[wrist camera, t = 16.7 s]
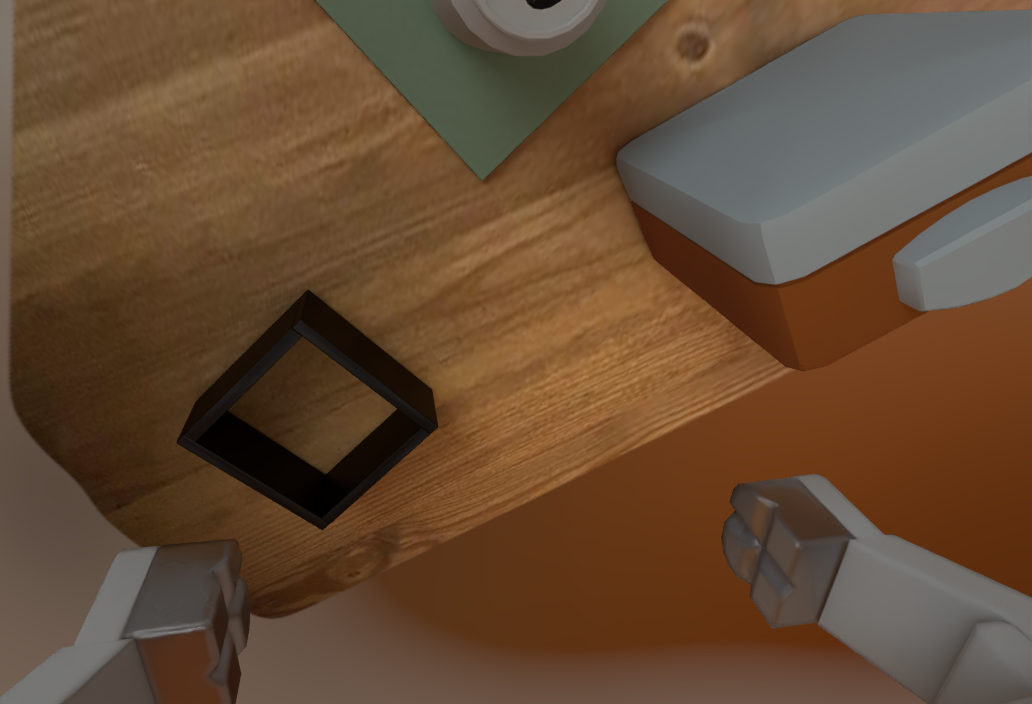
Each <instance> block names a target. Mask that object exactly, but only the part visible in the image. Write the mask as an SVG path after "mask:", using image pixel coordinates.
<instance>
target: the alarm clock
mask: <svg viewBox="0 0 1032 704" xmlns="http://www.w3.org/2000/svg"><path fill="white" fill-rule="evenodd" d="M617 169H618V171H619V174H620V176H621V179H622V181H623V184H624V186H625V189H626V191H627V194H628V196H629V199H630V200H631V204H632V206H633V209H634V211H635V213H636V216H637V218H638V221H639V223H640V226H641V228H642V231H643V233H644V236H645V238H646V241H647V243H648V246H649V248H650V250H651V253H652V255H653V258H654V259H655V260H656V261H657V262H658V263H659V264H661V265H662V266H663V267H664V268H665V269H667V270H668V271H669V272H670V273H671V274H673V275H674V276H675V277H676V278H677V279H679V280H680V281H681V282H682V283H684V284H685V285H686V286H687V287H689V288H690V289H691V290H692V291H694V292H695V293H696V294H697V295H699V296H700V297H701V298H702V299H703V300H705V301H706V302H707V303H708V304H710V305H711V306H712V307H713V308H715V309H716V310H717V311H718V312H719V313H721V314H722V315H723V316H724V317H725V318H727V319H728V320H729V321H730V322H732V323H733V324H734V325H735V326H736V327H738V328H739V329H740V330H741V331H742V332H744V333H745V334H746V335H747V336H748V337H750V338H751V339H752V340H753V341H755V342H756V343H757V344H758V345H760V346H761V347H762V348H763V349H765V350H766V351H767V352H768V353H770V354H771V355H772V356H773V357H775V358H776V359H777V360H778V361H779V362H781V363H782V364H783V365H784V366H786V367H788V368H793V369H797V370H801V371H807V370H811V369H815V368H819V367H824V366H827V365H829V364H831V363H833V362H835V361H837V360H839V359H841V358H842V357H844V356H846V355H848V354H850V353H852V352H853V351H855V350H857V349H859V348H861V347H863V346H865V345H867V344H868V343H870V342H872V341H874V340H876V339H878V338H879V337H882V336H883V335H885V334H887V333H889V332H891V331H893V330H895V329H896V328H898V327H900V326H902V325H904V324H906V323H908V322H909V321H911V320H913V319H915V318H917V317H919V316H920V315H922V314H924V313H926V312H928V311H933V310H941V309H950V308H958V307H961V306H965V305H969V304H973V303H976V302H980V301H984V300H987V299H990V298H992V297H994V296H997V295H1000V294H1002V293H1005V292H1007V291H1010V290H1013V289H1014V288H1016V287H1017V286H1019V285H1020V284H1022V283H1023V282H1024V281H1026V280H1027V279H1029V278H1030V277H1032V10H1001V11H966V12H932V13H899V14H868V15H861V16H856V17H853V18H850V19H848V20H846V21H843V22H841V23H839V24H838V25H836V26H834V27H832V28H830V29H829V30H827V31H825V32H823V33H822V34H820V35H818V36H816V37H814V38H813V39H811V40H809V41H807V42H805V43H804V44H802V45H800V46H798V47H797V48H795V49H793V50H791V51H790V52H788V53H786V54H784V55H783V56H781V57H779V58H777V59H776V60H774V61H772V62H770V63H769V64H767V65H765V66H763V67H762V68H760V69H758V70H756V71H755V72H753V73H751V74H749V75H747V76H746V77H744V78H742V79H740V80H739V81H737V82H735V83H733V84H732V85H730V86H728V87H726V88H724V89H723V90H721V91H719V92H717V93H716V94H714V95H712V96H710V97H709V98H707V99H705V100H703V101H701V102H700V103H698V104H696V105H694V106H692V107H691V108H689V109H687V110H685V111H683V112H682V113H680V114H678V115H676V116H674V117H673V118H671V119H669V120H667V121H666V122H664V123H662V124H660V125H659V126H657V127H655V128H653V129H652V130H650V131H648V132H646V133H645V134H643V135H641V136H639V137H638V138H636V139H634V140H632V141H631V142H630V143H628V144H627V145H626V146H625V147H623V148H622V149H621V150H620V151H618V154H617Z"/></svg>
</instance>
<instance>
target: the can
mask: <svg viewBox="0 0 1032 704" xmlns="http://www.w3.org/2000/svg"><path fill="white" fill-rule="evenodd" d="M430 3H431V6H432V9H433V11H434V12H435V14H436V15H437V17H438V18H439V20H440V21H441V22H442V24H443V25H444V27H445V28H446V30H448V31H449V32H450V33H452V34H453V35H454V36H455V37H457V38H458V39H459V40H460V41H462V42H463V43H465V44H468V45H470V46H473V47H476V48H479V49H482V50H486V51H491V52H497V53H502V54H507V55H513V56H544V55H547V54H549V53H552V52H555V51H557V50H560V49H563V48H565V47H568V46H569V45H570V44H571V43H572V42H574V41H575V40H576V39H577V38H579V37H580V36H581V35H582V34H583V33H585V32H586V31H587V30H588V29H589V28H590V26H591V25H592V23H593V22H594V20H595V19H596V17H597V16H598V14H599V13H600V11H601V10H602V8H603V7H604V5H605V3H606V0H430Z"/></svg>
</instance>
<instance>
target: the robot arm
mask: <svg viewBox="0 0 1032 704" xmlns="http://www.w3.org/2000/svg"><path fill="white" fill-rule="evenodd" d="M730 503H731V505H732V506H733V508H734V510H735V511H734V512H733V513H732V514H731V515H730V516H729V517H728V519H727V520H726V521H725V522H724V526H723V532H722V536H721V538H722V545H723V552H724V555H725V557H726V560H727V562H728V565H729V566H730V568H731V569H732V571H733V572H734V574H735V575H736V576H737V577H739V578H740V579H742V580H744V581H745V582H747V583H749V584H751V589H750V597H751V599H752V600H753V602H754V603H755V605H756V606H757V608H758V609H759V610H760V612H761V613H762V615H763V616H764V618H765V619H766V621H767V622H768V623H769V625H770V626H771V628H779V627H786V626H794V625H801V624H808V623H815V622H818V625H819V626H820V627H821V628H823V629H824V630H826V631H827V632H828V633H830V634H831V635H833V636H834V637H835V638H837V639H838V640H840V641H841V642H842V643H844V644H845V645H846V646H848V647H849V648H851V649H852V650H853V651H855V652H856V653H858V654H859V655H860V656H862V657H863V658H865V659H866V660H867V661H869V662H870V663H872V664H873V665H874V666H876V667H877V668H879V669H880V670H881V671H883V672H884V673H885V674H887V675H888V676H890V677H891V678H892V679H894V680H895V681H897V682H898V683H899V684H901V685H902V686H904V687H905V688H906V689H908V690H909V691H911V692H912V693H913V694H915V695H916V696H918V697H919V698H920V699H922V700H923V701H925V702H926V703H927V704H1032V598H1031V597H1029V596H1026V595H1024V594H1022V593H1020V592H1018V591H1016V590H1013V589H1011V588H1009V587H1007V586H1005V585H1003V584H1000V583H998V582H996V581H994V580H992V579H989V578H987V577H985V576H983V575H981V574H978V573H976V572H974V571H972V570H969V569H967V568H965V567H963V566H961V565H959V564H956V563H954V562H952V561H950V560H947V559H945V558H943V557H941V556H938V555H937V554H934V553H932V552H930V551H928V550H926V549H923V548H921V547H919V546H917V545H915V544H912V543H910V542H908V541H906V540H903V539H901V538H899V537H897V536H895V535H884V534H883V533H882V532H881V531H879V529H878V528H877V527H876V526H875V525H874V524H872V523H871V522H870V521H869V520H868V519H867V518H866V517H865V516H864V515H863V514H862V513H861V512H860V511H859V510H858V509H857V508H856V507H855V506H854V505H853V504H852V503H851V502H849V500H847V499H846V498H845V497H844V496H843V495H842V494H841V493H840V492H839V491H838V490H837V489H836V488H835V487H834V486H833V485H832V484H831V483H830V482H829V481H828V480H827V479H826V478H824V477H822V476H820V475H818V474H810V475H801V476H794V477H789V478H781V479H773V480H764V481H756V482H747V483H739V484H738V485H737V486H736V487H735V488H734V489H733V491H732V495H731V499H730ZM242 559H243V558H242V554H241V550H240V546H239V542H238V541H237V540H236V539H226V540H215V541H203V542H192V543H180V544H169V545H162V546H155V547H143V548H132V549H123V550H122V551H121V552H120V553H119V554H118V555H117V556H116V557H115V558H114V560H113V563H112V565H111V567H110V569H109V571H108V573H107V575H106V578H105V580H104V582H103V584H102V586H101V588H100V590H99V592H98V595H97V597H96V599H95V601H94V603H93V605H92V607H91V610H90V611H89V614H88V616H87V618H86V620H85V622H84V624H83V627H82V628H81V631H80V633H79V635H78V637H77V639H76V641H75V643H74V646H72V647H65V648H60V649H59V650H58V651H56V652H55V653H54V654H53V655H51V656H50V657H49V658H48V659H47V660H45V661H44V662H43V663H42V664H40V665H39V666H38V667H37V668H36V669H34V670H33V671H32V672H31V673H29V674H28V675H27V676H26V677H24V678H23V679H22V680H21V681H19V682H18V683H17V684H16V685H15V686H13V687H12V688H11V689H10V690H8V691H7V692H6V693H5V694H3V695H2V696H1V697H0V704H235V703H236V698H237V693H238V687H239V682H240V677H241V671H240V666H239V662H238V657H237V656H238V655H239V654H240V653H241V652H242V650H243V649H244V648H245V647H246V645H247V639H248V633H249V624H250V597H249V589H248V584H247V580H245V579H244V578H243V577H241V576H240V575H239V573H240V568H241V563H242Z"/></svg>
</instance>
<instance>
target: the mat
mask: <svg viewBox="0 0 1032 704" xmlns="http://www.w3.org/2000/svg"><path fill="white" fill-rule="evenodd" d="M315 1H316V2H317V3H318V4H319V5H320V6H321V7H322V8H323V9H324V10H325V12H326V13H327V14H328V15H329V16H330V17H331V18H332V19H333V20H334V21H335V22H336V23H337V25H338V26H339V27H340V28H341V29H342V30H343V31H344V32H345V33H346V34H347V35H348V36H349V38H350V39H351V40H352V41H353V42H354V43H355V44H356V45H357V46H358V47H359V48H360V49H361V51H362V52H363V53H364V54H365V55H366V56H367V57H368V58H369V59H370V60H371V61H372V62H373V63H374V65H375V66H376V67H377V68H378V69H379V70H380V71H381V72H382V73H383V74H384V75H385V76H386V78H387V79H388V80H389V81H390V82H391V83H392V84H393V85H394V86H395V87H396V88H397V89H398V91H399V92H400V93H401V94H402V95H403V96H404V97H405V98H406V99H407V100H408V101H409V102H410V104H411V105H412V106H413V107H414V108H415V109H416V110H417V111H418V112H419V113H420V114H421V115H422V117H423V118H424V119H425V120H426V121H427V122H428V123H429V124H430V125H431V126H432V127H433V128H434V130H435V131H436V132H437V133H438V134H439V135H440V136H441V137H442V138H443V139H444V140H445V141H446V143H447V144H448V145H449V146H450V147H451V148H452V149H453V150H454V151H455V152H456V153H457V154H458V156H459V157H460V158H461V159H462V160H463V161H464V162H465V163H466V164H467V165H468V166H469V167H470V169H471V170H472V171H473V172H474V173H475V174H476V175H477V176H478V177H479V178H480V179H481V180H482V181H483V180H484V179H485V178H486V177H487V176H488V175H489V174H490V173H491V172H492V171H493V170H494V169H495V168H496V167H497V166H498V165H499V164H500V163H501V162H502V161H503V160H504V159H506V158H507V157H508V156H509V155H510V154H511V153H512V152H513V151H514V150H515V149H516V148H517V147H518V146H519V145H520V144H521V143H522V142H523V141H524V140H525V139H526V138H527V137H528V136H529V135H530V134H531V133H532V132H533V131H534V130H535V129H536V128H537V127H538V126H539V125H540V124H541V123H543V122H544V121H545V120H546V119H547V118H548V117H549V116H550V115H551V114H552V113H553V112H554V111H555V110H556V109H557V108H558V107H559V106H560V105H561V104H562V103H563V102H564V101H565V100H566V99H567V98H568V97H569V96H570V95H571V94H572V93H573V92H574V91H575V90H576V89H577V88H578V87H580V86H581V85H582V84H583V83H584V82H585V81H586V80H587V79H588V78H589V77H590V76H591V75H592V74H593V73H594V72H595V71H596V70H597V69H598V68H599V67H600V66H601V65H602V64H603V63H604V62H605V61H606V60H607V59H608V58H609V57H610V56H611V55H612V54H613V53H614V52H615V51H617V50H618V49H619V48H620V47H621V46H622V45H623V44H624V43H625V42H626V41H627V40H628V39H629V38H630V37H631V36H632V35H633V34H634V33H635V32H636V31H637V30H638V29H639V28H640V27H641V26H642V25H643V24H644V23H645V22H646V21H647V20H648V19H649V18H650V17H651V16H652V15H654V14H655V13H656V12H657V11H658V10H659V9H660V8H661V7H662V6H663V5H664V4H665V3H666V2H667V1H668V0H606V3H605V5H604V7H603V8H602V10H601V11H600V13H599V14H598V16H597V17H596V19H595V20H594V22H593V23H592V25H591V26H590V28H589V29H588V30H587V31H586V32H585V33H583V34H582V35H581V36H580V37H579V38H577V39H576V40H575V41H574V42H572V43H571V44H570V45H569V46H568V47H565V48H563V49H560V50H557V51H555V52H552V53H549V54H547V55H544V56H513V55H507V54H502V53H497V52H491V51H486V50H482V49H479V48H476V47H473V46H470V45H468V44H465V43H463V42H462V41H460V40H459V39H458V38H457V37H455V36H454V35H453V34H452V33H450V32H449V31H448V30H446V28H445V27H444V25H443V24H442V22H441V21H440V20H439V18H438V17H437V15H436V14H435V12H434V11H433V9H432V6H431V3H430V0H315Z"/></svg>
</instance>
